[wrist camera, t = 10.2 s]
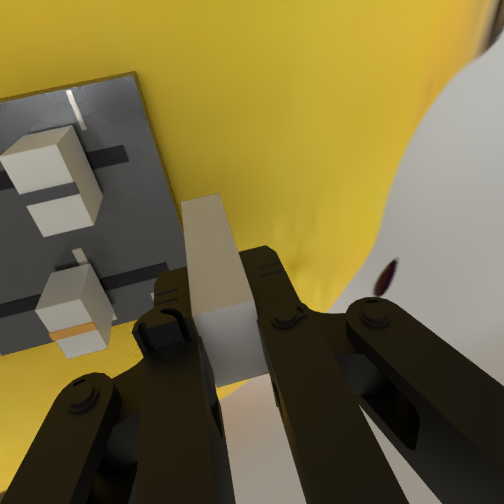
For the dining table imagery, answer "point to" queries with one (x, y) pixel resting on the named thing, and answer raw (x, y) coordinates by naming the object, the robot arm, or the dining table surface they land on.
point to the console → (109, 215)
